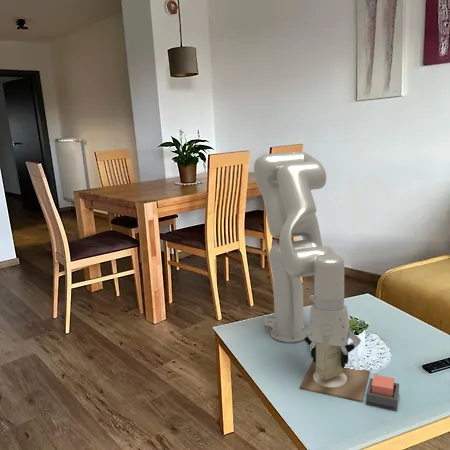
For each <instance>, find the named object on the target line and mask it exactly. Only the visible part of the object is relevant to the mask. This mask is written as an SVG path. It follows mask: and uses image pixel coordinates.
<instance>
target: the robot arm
mask: <svg viewBox="0 0 450 450" xmlns="http://www.w3.org/2000/svg"><path fill="white" fill-rule="evenodd" d="M253 174H254V180H255V183H256V186H257V188H258V190H259V191H260V194H261V197H262V201H263V203H264V210H265V215H266V219H267V220H266V221H267V222H266V223H267V226H268V231H269V233H270V235H271V237H272V238H274V239H279V243H277V244H274V245H273V246H272V247H271V248H269V252H268V258H269V264H270V268H271V274H272V288H273V311H274V317H273V318H269V317H263V325H264V327H269V328H270V331H269V332H270V336H271V337H272V338H273V339H274V340H276V341H279V342H282V343H298V342H301V341H305V343H306V344H307V345H308V346H309V348H310V357H311V358H312V361H313V362H316V343H320V344H322V337H329V345H332V346H338V347H341V349H342V354H341V367H342V368H344V367H345V366H346V365H347V364H348V363H349V353H351V352H352V351H353V350H355V348H357V347H359V345H360V344H361V342H362V340H361V338H360V337H359V336H358V335H356V334H355V333H354V332H353V331H352V330H351V328H350V319H349V318H350V317H349V313H348V308H347V307H348V306H347V305H345V261H344V259H343V257H342V256H341V255H339V254H336V253H335V251H334V250H333V249H332V248H331V247H330V246H327V245H323V243H322V237H321V231H320V225H319V221H318V217H317V215H316V213H317V206H316V203H315V200H314V198H313V194H312V191H311V190H313V191H315V190H319V189H323V188H324V187H325V185H326V184H327V183H326V182H327V172H326V169H325V168H324V166H323V164H322V163H321V162H320V161H319V160H318V159H317V158H315V157H313V156H312V155H310V154H309V153H307V152H306V151H290V152H288V151H287V152H275V153H273V152H272V153H268V154H264V155H261V156H258V157H257V158H256V159H255V161H254V164H253ZM295 237H297V238H298V237H302V239H301V240H293V238H295ZM310 276H314V277H313V278H314V279H313V280H314V282H313V283H314V285H313V288H314V291H313V292H314V293H313V294H309V296H308V300H309V301H313V303H312V304H311V307H310V310H309V311H310V312H309V318H308V319H309V321H308V325H307V326H305V323H304V321H305V319H304V316H305V315H304V286H303V281H302V279H300V278H304V277H310ZM349 339H350V340H351V341H352V342H350V343H349Z"/></svg>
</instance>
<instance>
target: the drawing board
mask: <svg viewBox="0 0 450 450" xmlns="http://www.w3.org/2000/svg"><path fill="white" fill-rule="evenodd" d="M359 369H360V368H358V370H355V369H350V368H343V373H342V374H340V375H337V376H335V377H332V378H330V379H327V380H326V379H324V378H323V377H321V376H320V375H319V374H317V373H316V362H313V360H312V361H311V364H310V365H309V367H308V370H307V371H306V373H305V375H304V377H303V379H302V381H301V383H300V386H299V390H303V391H307V392H313V393H319V394H322V395H327V396H330V397H331V396H332V397H337V398H341V399H345V400H350V401H355V402H359V403H363V402H364V401H363V400H364V397H365V392H366V391H367V387H368V385H367V384H368V383H369V382H368V381H369V379H370V378H369V377H370V374H371V371H370V370H369V369H363V370H359Z"/></svg>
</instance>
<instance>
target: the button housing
mask: <svg viewBox="0 0 450 450" xmlns="http://www.w3.org/2000/svg"><path fill="white" fill-rule="evenodd" d="M368 381H369V382H368V385H367V388H366V395H365V396H366V397H365V401H366V402H365V403H366V405H367V406H372V407H377V408H381V409H386V410H390V411H395V412H397V411H398V403H399V396H400V383H399V382H398V383H396V382H394V391H393V397H388V396H383V395H378V394H373V393H372V382H373V377H372V378H369V380H368Z"/></svg>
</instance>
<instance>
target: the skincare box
mask: <svg viewBox="0 0 450 450" xmlns="http://www.w3.org/2000/svg"><path fill="white" fill-rule="evenodd" d="M341 354H342V349H341V347H338V346H332V345H329V337H322V344H320V343H316V373H317V374H319V375H320V376H321V377H323V378H324V379H326V380H327V379H330V378H332V377H335V376H337V375H340V374H342V373H343V368H342V367H341Z"/></svg>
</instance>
